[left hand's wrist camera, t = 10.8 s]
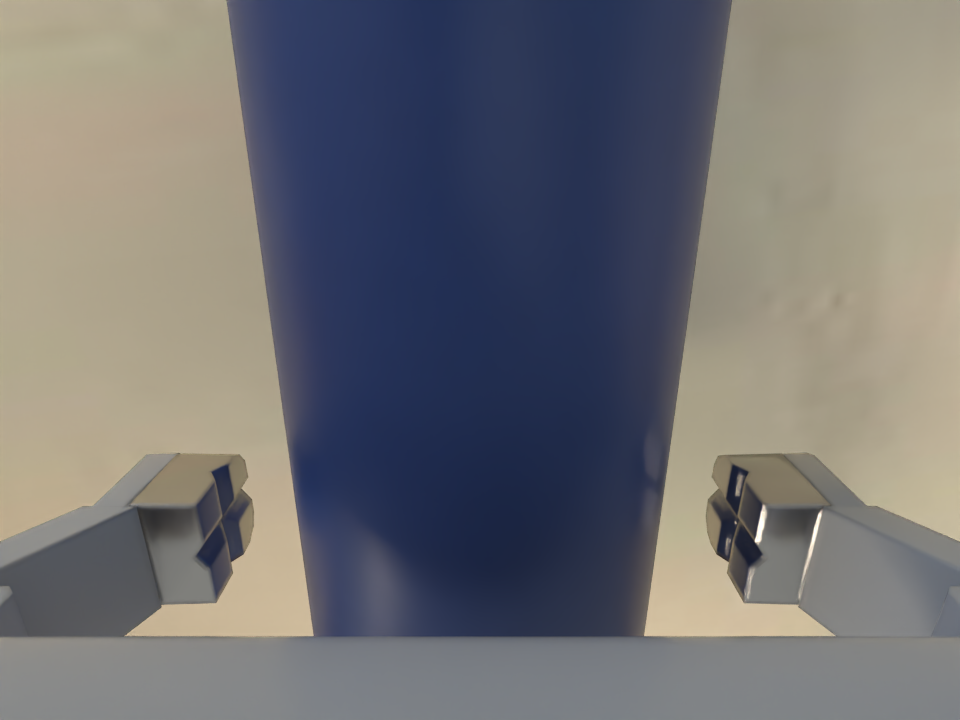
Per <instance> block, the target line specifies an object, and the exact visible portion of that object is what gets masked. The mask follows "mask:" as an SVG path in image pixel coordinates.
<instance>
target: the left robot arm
mask: <svg viewBox="0 0 960 720" xmlns="http://www.w3.org/2000/svg"><path fill="white" fill-rule="evenodd" d="M247 478H248V473H247V469H246V464H245V460H244V459H243V458H242V457H241V456H240V455H239V454H188V453H183V454H180V453H154V454H147V455H146V456H145V457H144V458H143V459H142V460H141V461H139V462H138V463H137V464H136V465H135V466H134V467H133V468H132V469H131V470H130V471H129V472H128V473H127V474H126V475H125V476H124V477H123V478H122V479H121V480H120V481H119V482H118V483H117V484H115V485H114V486H113V487H112V488H111V489H110V490H109V491H108V492H107V493H106V494H105V495H104V496H103V497H102V498H101V499H100V500H99V501H98V502H97V503H96V504H95V505H94V506H83V507H80V508H78V509H76V510H73V511H71V512H69V513H66V514H64V515H62V516H59V517H57V518H54V519H52V520H50V521H47V522H45V523H43V524H40V525H38V526H36V527H33V528H31V529H29V530H26V531H24V532H22V533H19V534H17V535H15V536H12V537H10V538H8V539H5V540H3V541H1V542H0V720H960V542H959V541H957V540H955V539H952V538H950V537H948V536H945V535H943V534H941V533H938V532H936V531H934V530H931V529H929V528H927V527H924V526H922V525H919V524H917V523H915V522H912V521H910V520H908V519H905V518H903V517H901V516H898V515H896V514H894V513H891V512H889V511H887V510H884V509H882V508H880V507H877V506H866V505H865V504H864V503H863V502H862V501H861V500H860V499H859V498H858V497H857V496H856V495H855V494H854V493H853V492H852V491H851V490H850V489H849V488H848V487H847V486H846V485H845V484H844V483H843V482H842V481H840V480H839V479H838V478H837V477H836V476H835V475H834V474H833V473H832V472H831V471H830V470H829V469H828V468H827V467H826V466H825V465H824V464H823V463H822V462H821V461H820V460H819V459H818V458H817V457H816V456H814V455H812V454H809V453H787V454H743V455H720V456H718V457H717V459H716V461H715V463H714V467H713V473H712V478H713V480H714V481H715V483H716V484H717V486H718V488H719V489H718V490H717V491H716V492H715V493H714V494H713V495H712V496H711V497H710V498H709V499H708V503H707V511H706V523H707V533H708V536H709V539H710V542H711V545H712V547H713V549H714V550H715V552H716V554H717V555H718V556H720V557H722V558H723V559H725V560H726V561H728V562H729V565H728V570H727V574H728V576H729V577H730V579H731V581H732V583H733V585H734V586H735V588H736V590H737V592H738V593H739V595H740V597H741V599H742V600H743V602H744V603H760V604H796V605H799V606H798V607H799V608H800V609H802V610H803V611H804V612H806V613H807V614H808V615H810V616H811V617H812V618H813V619H815V620H816V621H817V622H819V623H820V624H821V625H823V626H824V627H825V628H826V629H828V630H829V631H830V632H832V633H833V634H834V635H836V636H125V635H126V634H127V633H129V632H130V631H131V630H132V629H134V628H135V627H136V626H138V625H139V624H140V623H142V622H143V621H144V620H146V619H147V618H148V617H149V616H151V615H152V614H153V613H155V612H156V611H157V610H159V609H160V608H161V605H163V604H199V603H216V602H217V600H218V599H219V597H220V595H221V593H222V592H223V590H224V588H225V586H226V585H227V583H228V581H229V579H230V577H231V576H232V574H233V570H232V565H231V562H232V561H234V560H235V559H237V558H238V557H240V556H242V555H243V554H244V552H245V550H246V549H247V547H248V545H249V543H250V539H251V535H252V531H253V527H254V509H253V503H252V499H251V498H250V497H249V496H248V495H247V494H246V493H245V492H244V491H243V490H242V489H241V488H242V486H243V484H244V483H245V481H246V480H247Z"/></svg>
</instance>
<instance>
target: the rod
mask: <svg viewBox="0 0 960 720" xmlns="http://www.w3.org/2000/svg"><path fill="white" fill-rule="evenodd" d="M731 4H732V0H227V6H228V13H229V21H230V28H231V35H232V42H233V50H234V57H235V64H236V72H237V79H238V86H239V94H240V101H241V108H242V115H243V123H244V130H245V137H246V145H247V152H248V159H249V167H250V174H251V181H252V188H253V196H254V203H255V210H256V218H257V225H258V232H259V239H260V247H261V254H262V261H263V269H264V276H265V283H266V291H267V298H268V305H269V312H270V320H271V327H272V334H273V342H274V349H275V356H276V364H277V371H278V378H279V385H280V393H281V400H282V407H283V415H284V422H285V429H286V437H287V444H288V451H289V458H290V466H291V473H292V480H293V488H294V495H295V502H296V509H297V517H298V524H299V531H300V539H301V546H302V553H303V561H304V568H305V575H306V582H307V590H308V597H309V604H310V612H311V619H312V626H313V634H314V636H644V631H645V624H646V617H647V610H648V603H649V595H650V588H651V581H652V574H653V566H654V559H655V552H656V545H657V538H658V530H659V523H660V516H661V509H662V502H663V494H664V487H665V480H666V473H667V465H668V458H669V451H670V444H671V437H672V429H673V422H674V415H675V408H676V400H677V393H678V386H679V379H680V372H681V364H682V357H683V350H684V343H685V336H686V328H687V321H688V314H689V307H690V299H691V292H692V285H693V278H694V271H695V263H696V256H697V249H698V242H699V235H700V227H701V220H702V213H703V206H704V198H705V191H706V184H707V177H708V170H709V162H710V155H711V148H712V141H713V133H714V126H715V119H716V112H717V105H718V97H719V90H720V83H721V76H722V69H723V61H724V54H725V47H726V40H727V32H728V25H729V18H730V11H731Z"/></svg>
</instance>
